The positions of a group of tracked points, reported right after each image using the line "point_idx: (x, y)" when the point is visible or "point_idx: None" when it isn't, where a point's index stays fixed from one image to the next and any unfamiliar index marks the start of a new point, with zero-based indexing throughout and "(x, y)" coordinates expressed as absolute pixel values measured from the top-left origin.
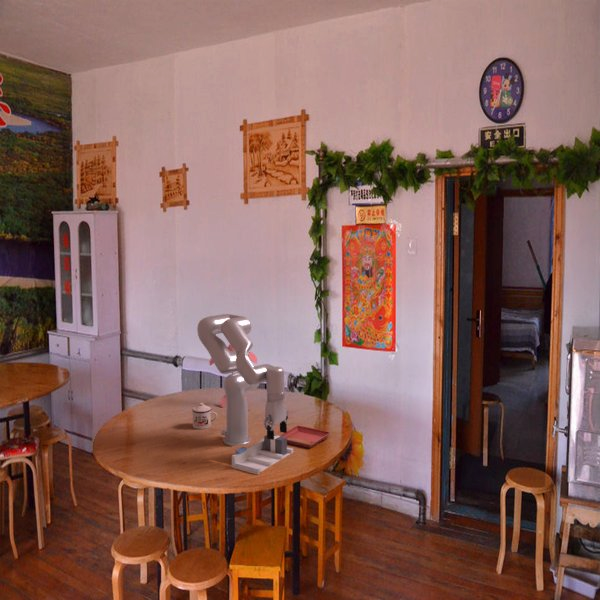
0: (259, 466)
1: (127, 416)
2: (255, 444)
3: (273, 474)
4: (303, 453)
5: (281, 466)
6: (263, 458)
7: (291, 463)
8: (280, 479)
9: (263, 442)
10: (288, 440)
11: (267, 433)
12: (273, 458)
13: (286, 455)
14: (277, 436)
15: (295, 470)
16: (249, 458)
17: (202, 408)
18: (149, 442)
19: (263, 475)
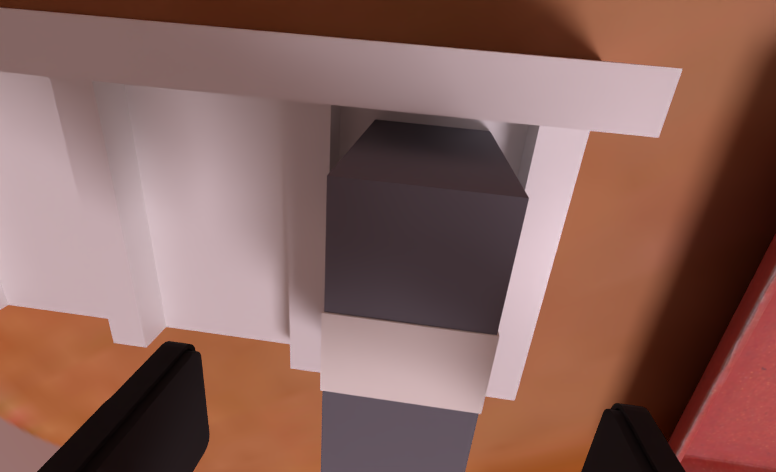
0: (65, 250)
1: None
2: (189, 63)
3: (70, 379)
4: (536, 432)
5: (212, 377)
6: (227, 196)
7: (302, 416)
8: (51, 435)
9: (392, 106)
10: (761, 285)
11: (103, 420)
12: (283, 281)
13: None
14: (440, 383)
15: (217, 467)
16: (65, 95)
17: None
18: None
19: (5, 330)
